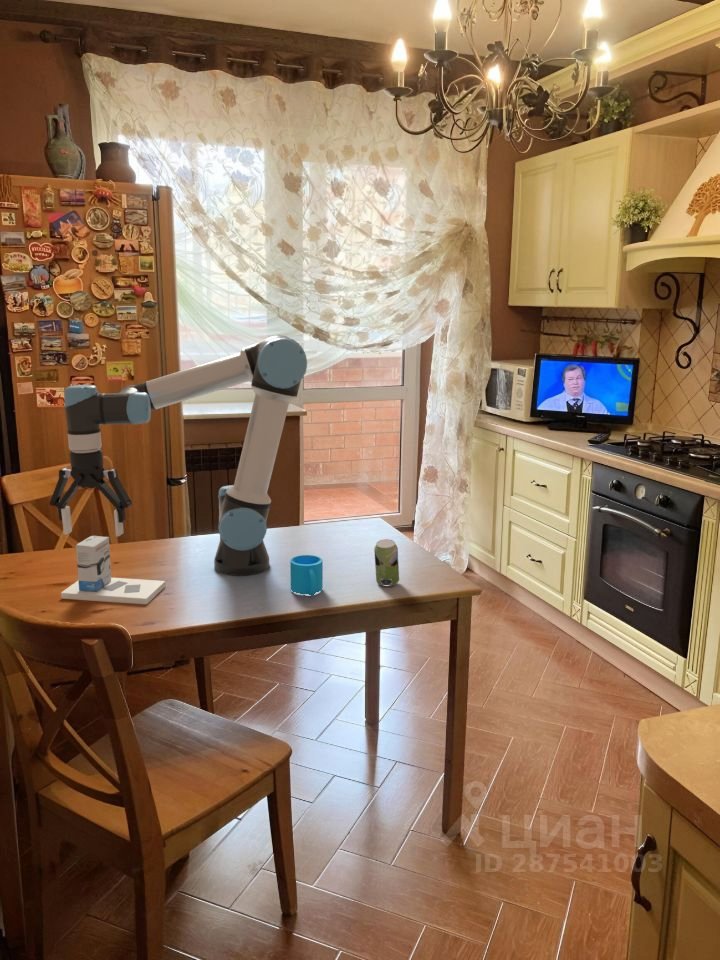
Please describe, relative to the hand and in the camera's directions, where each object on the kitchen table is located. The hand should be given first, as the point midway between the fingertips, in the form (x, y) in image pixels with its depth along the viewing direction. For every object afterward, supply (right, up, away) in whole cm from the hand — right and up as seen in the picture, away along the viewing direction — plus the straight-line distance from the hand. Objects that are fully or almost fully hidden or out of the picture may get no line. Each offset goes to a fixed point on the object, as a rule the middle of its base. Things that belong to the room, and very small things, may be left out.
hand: (93, 533), depth 188 cm
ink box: (-1, -13, +3) cm, 14 cm away
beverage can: (+73, -14, +11) cm, 75 cm away
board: (+4, -15, +3) cm, 16 cm away
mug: (+53, -15, +4) cm, 55 cm away
